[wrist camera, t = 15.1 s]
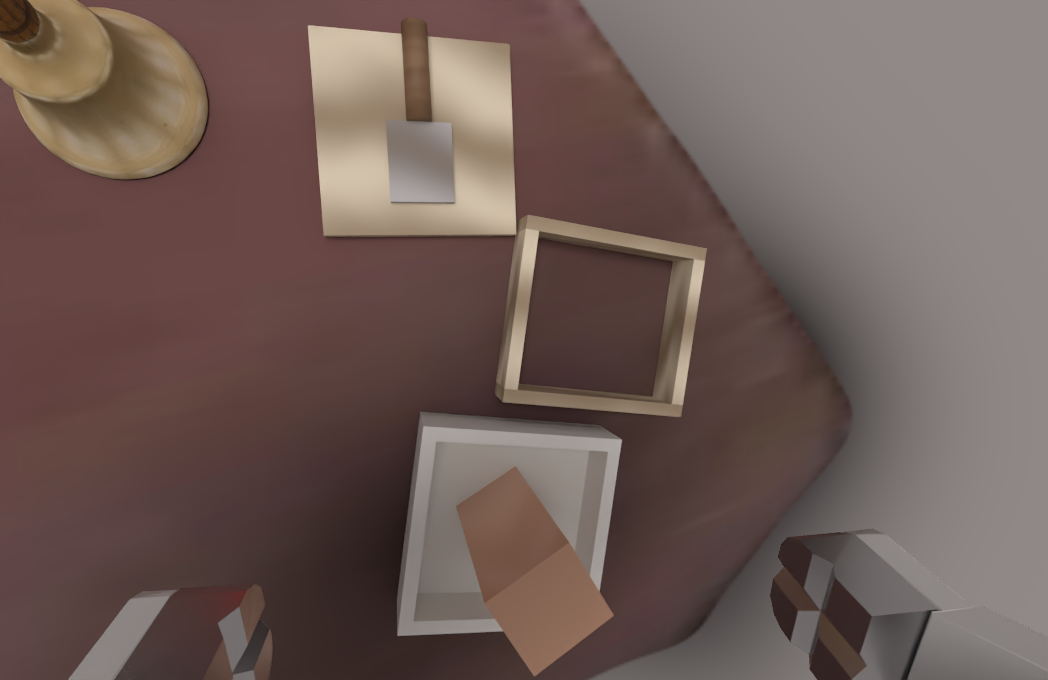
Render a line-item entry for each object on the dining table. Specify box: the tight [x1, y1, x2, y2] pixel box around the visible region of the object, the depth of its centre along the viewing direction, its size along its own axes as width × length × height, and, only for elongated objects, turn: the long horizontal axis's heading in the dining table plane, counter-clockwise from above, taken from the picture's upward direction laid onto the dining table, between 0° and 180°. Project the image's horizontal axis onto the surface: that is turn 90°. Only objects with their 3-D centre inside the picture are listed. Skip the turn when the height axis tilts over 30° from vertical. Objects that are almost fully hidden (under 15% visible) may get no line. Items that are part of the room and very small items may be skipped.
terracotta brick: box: [456, 466, 614, 676], centre depth 27 cm, size 4×4×10 cm
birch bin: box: [494, 215, 707, 417], centre depth 31 cm, size 11×12×2 cm
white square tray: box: [397, 412, 622, 636], centre depth 31 cm, size 12×12×4 cm
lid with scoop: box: [308, 18, 516, 237], centre depth 28 cm, size 11×11×2 cm
